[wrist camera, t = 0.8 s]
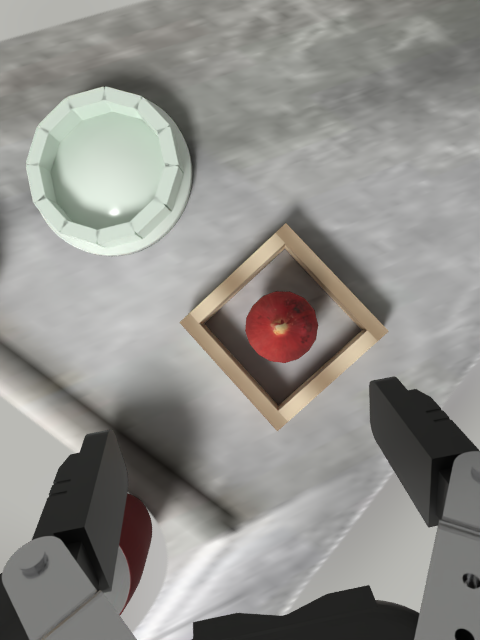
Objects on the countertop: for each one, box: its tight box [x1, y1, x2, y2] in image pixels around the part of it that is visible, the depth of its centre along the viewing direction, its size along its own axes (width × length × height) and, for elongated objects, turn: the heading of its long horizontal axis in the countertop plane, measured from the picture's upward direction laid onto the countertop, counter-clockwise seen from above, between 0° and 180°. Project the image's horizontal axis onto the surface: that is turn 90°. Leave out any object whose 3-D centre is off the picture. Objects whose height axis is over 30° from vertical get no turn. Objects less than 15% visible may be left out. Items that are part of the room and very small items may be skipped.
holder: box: [180, 224, 388, 431], centre depth 38 cm, size 12×12×2 cm
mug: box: [104, 493, 152, 616], centre depth 35 cm, size 11×8×10 cm
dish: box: [26, 86, 192, 256], centre depth 39 cm, size 15×15×3 cm
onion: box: [245, 291, 318, 363], centre depth 35 cm, size 6×6×8 cm
